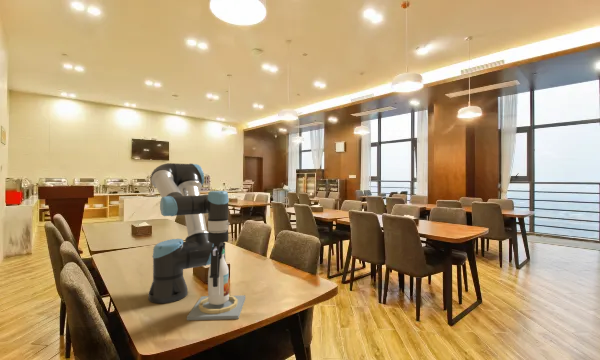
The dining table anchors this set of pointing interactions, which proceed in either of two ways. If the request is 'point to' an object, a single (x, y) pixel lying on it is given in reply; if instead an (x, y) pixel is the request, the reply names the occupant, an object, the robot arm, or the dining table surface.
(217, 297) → the milk bottle
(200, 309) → the ring board
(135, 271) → the dining table surface
